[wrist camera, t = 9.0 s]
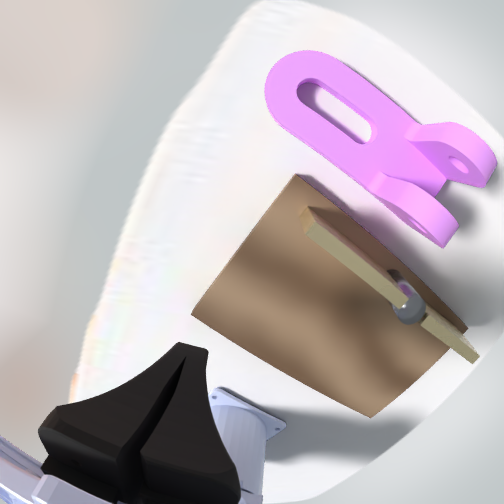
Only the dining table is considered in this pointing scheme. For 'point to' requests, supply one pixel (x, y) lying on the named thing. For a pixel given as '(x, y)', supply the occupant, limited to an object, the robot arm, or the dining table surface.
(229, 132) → the dining table surface
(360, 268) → the fixed leaf
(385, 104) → the bracket
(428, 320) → the swing leaf
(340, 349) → the walnut board
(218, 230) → the dining table surface
